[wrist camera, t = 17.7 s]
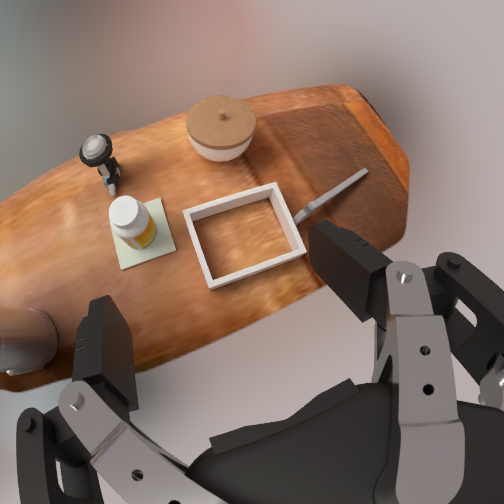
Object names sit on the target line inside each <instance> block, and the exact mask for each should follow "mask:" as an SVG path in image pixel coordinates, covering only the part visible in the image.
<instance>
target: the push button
mask: <svg viewBox="0 0 504 504" xmlns="http://www.w3.org/2000/svg"><path fill="white" fill-rule="evenodd" d="M106 143H107V144H108V146H107V145H106ZM112 150H113V148H112V141H111V139H110V138H109V136H107V135H105V134H98V135H93V136H91V137H89V138H88V139H87V140H86V141H85V143H84V144H83V145H82V147H81V149H80V153H79V156H80V159H81V161H82V162H83V163H84V164H86V165H87V166H89V167H96V166H97V167H98V172H99V174H100V175H101V176H102V178H103V182H104V184H105V185H106V186H107V188H108V189H109V193H111V196H113V195H115V189H116V187H117V186H118V185H117V183H118V180H117V173H118V175H119V176H120V171H119V169H118V162H117V161H116V159H115V157H112V158H109V157H110V156H111V154H112ZM86 158H87V159H88V160H86ZM110 190H111V191H110ZM113 192H114V193H113ZM112 193H113V194H112Z"/></svg>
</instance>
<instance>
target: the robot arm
mask: <svg viewBox="0 0 504 504" xmlns="http://www.w3.org/2000/svg"><path fill="white" fill-rule="evenodd" d="M308 240H309V258H310V263H311V265H312V268H313V269H314V271H315V272H316V273H317V274H318V275H319V276H320V277H321V279H322V280H323V281H324V282H325V283H326V284H327V285H328V286H329V287H330V288H331V289H332V290H333V291H334V292H335V293H336V295H337V296H338V297H339V298H340V299H341V300H342V301H343V302H344V303H345V304H346V305H347V306H348V307H349V309H350V310H352V312H353V313H354V314H355V315H356V316H357V317H358V318H359V319H360V321H361V322H364V321H367V320H368V319H370V318H372V317H373V318H374V319H375V352H374V371H373V376H372V382H371V383H365V384H359V385H354V383H353V382H352V381H351V380H350V378H349V379H347V380H345V381H343V382H341V383H340V384H338V385H336V386H334V387H332V388H330V389H329V390H327V391H325V392H323V393H321V394H319V395H317V396H316V397H315V398H314V399H312V400H311V401H310V402H309V403H308V404H306V405H305V406H304V407H303V408H301V409H300V410H299V411H297V412H296V413H295V414H294V415H292V416H291V417H289V418H288V419H286V420H282V421H277V422H270V423H264V424H258V425H250V426H244V427H242V428H239V429H236V430H233V431H230V432H227V433H224V434H221V435H217V436H214V437H211V438H209V440H210V442H211V445H212V447H211V448H209V449H207V450H206V451H205V452H203V453H202V454H201V455H200V456H198V457H197V458H196V459H195V460H194V461H193V463H192V464H191V465H190V466H188V465H186V464H185V463H183V462H182V461H180V460H179V459H177V458H176V457H174V456H173V455H171V454H170V453H169V452H167V451H166V450H165V449H163V448H162V447H161V446H160V445H158V444H157V443H156V442H155V441H153V440H152V439H151V438H150V437H148V436H147V435H146V434H145V433H144V432H143V431H142V430H140V429H139V428H138V427H137V426H136V425H135V424H134V423H133V422H131V421H130V416H129V412H130V411H134V410H138V409H139V405H138V398H137V390H136V382H135V372H134V361H133V347H132V335H131V332H130V329H129V326H128V324H127V322H126V321H125V319H124V318H123V316H122V315H121V313H120V311H119V310H118V308H117V306H116V305H115V303H114V301H113V300H112V298H111V297H110V296H109V295H106V296H103V297H100V298H97V299H94V300H92V301H90V304H89V311H88V316H86V317H84V318H83V320H82V321H81V323H80V325H79V327H78V331H77V338H76V340H77V341H76V346H75V349H76V350H75V354H74V364H73V375H72V383H70V384H69V385H67V386H66V387H65V388H64V390H63V391H62V393H61V395H60V397H59V403H58V404H59V406H57V407H55V408H54V409H52V410H50V411H48V412H47V413H45V414H42V413H41V412H40V411H39V410H37V409H36V408H28V409H26V410H24V411H23V412H22V414H21V415H20V417H19V419H18V422H17V432H16V453H17V454H16V456H17V474H18V486H19V494H20V501H21V504H104V501H103V497H102V493H101V489H100V485H99V480H98V475H97V472H98V473H99V474H100V475H101V476H102V477H103V478H104V479H105V481H106V482H107V483H108V484H109V485H110V486H111V487H112V488H113V489H114V490H115V491H116V492H117V493H118V494H119V495H120V496H121V497H122V498H123V499H124V500H125V501H126V502H127V503H128V504H504V291H503V290H502V289H501V288H500V287H499V286H498V285H496V284H495V283H494V282H493V281H492V280H490V279H489V278H488V277H487V276H486V275H485V274H483V273H482V272H481V271H480V270H479V269H477V268H476V267H475V266H474V265H472V264H471V263H470V262H469V261H467V260H466V259H465V258H464V257H462V256H461V255H459V254H456V253H452V252H444V253H441V254H440V255H439V256H438V258H437V262H436V266H432V267H428V268H422V269H421V268H420V267H418V266H417V265H415V264H414V263H411V262H408V261H396V262H393V261H392V260H390V259H389V258H388V257H386V256H385V255H384V254H383V253H381V252H380V251H379V250H377V249H376V248H375V247H373V246H372V245H371V244H370V245H369V243H368V242H367V241H365V240H364V239H362V238H361V237H360V236H358V235H357V234H356V233H354V232H353V231H350V230H347V229H344V228H338V227H337V226H335V225H334V224H333V223H331V222H330V221H328V220H324V221H321V222H318V223H315V224H312V225H310V226H309V227H308ZM458 299H460V300H461V301H462V302H463V303H464V304H465V305H466V306H467V307H468V308H469V309H470V310H471V311H472V312H473V313H474V314H475V315H476V318H477V325H476V327H474V326H473V325H472V324H471V323H470V322H469V321H468V320H467V319H466V318H465V317H464V316H463V315H462V314H461V313H460V312H459V311H458V310H457V309H456V308H455V306H456V303H457V301H458ZM57 345H58V341H57V333H56V329H55V326H54V324H53V322H52V321H51V319H50V318H49V317H48V316H47V315H46V314H45V313H44V312H42V311H39V310H34V309H25V308H18V307H11V306H3V305H0V372H4V371H6V372H7V373H8V374H9V375H11V376H12V375H17V374H22V373H26V372H31V371H35V370H39V369H43V368H44V365H45V364H46V363H48V362H50V361H51V360H52V359H53V357H54V356H55V354H56V351H57ZM451 353H452V354H453V355H454V356H455V357H456V358H457V360H458V361H459V362H460V363H461V364H462V365H463V367H464V368H465V369H466V370H467V372H468V373H469V374H470V375H471V376H472V378H473V379H474V380H475V381H476V382H477V384H478V385H479V386H480V394H479V396H478V401H479V403H480V404H481V405H479V404H473V403H468V402H463V401H458V400H456V389H455V380H454V373H453V365H452V359H451ZM485 405H486V406H485ZM55 460H56V461H58V462H60V468H61V475H62V482H63V488H64V492H63V491H62V490H61V488H60V486H59V484H58V478H57V470H56V461H55Z"/></svg>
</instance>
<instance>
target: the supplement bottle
mask: <svg viewBox="0 0 504 504" xmlns="http://www.w3.org/2000/svg"><path fill="white" fill-rule="evenodd" d="M109 217H110V220H111V226H112V229H113V231H114V232H115V233H116V235H118V236H119V237H120V238H121V239H122V240H123V241H124V242H125V243H126V244H127V245H128V246H129V247H131V248H133V249H135V250H143V249H146V248H148V247H149V246H151V245H152V243H153V242H154V241H155V239H156V236H157V227H156V224H155V222H154V221H153V219H152V217H151V215H150V213H149V212H148V210H147V208H146V207H145V205H144V204H143V203H141V202H140V201H138V200H135V199H134V198H133V197H131V196H121V197H119V198H117V199H116V200H114V201H113V203H112V204H111V206H110V209H109Z"/></svg>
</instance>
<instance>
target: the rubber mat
mask: <svg viewBox="0 0 504 504" xmlns="http://www.w3.org/2000/svg"><path fill="white" fill-rule="evenodd" d="M144 205H145V207H146V208H147V210H148V212H149V213H150V215H151V217H152V219H153V221H154V222H155V224H156V227H157V236H156V239H155V241H154V242H153V243H152V245H151V246H149V247H148V248H146V249H143V250H135V249H133V248H131V247H129V246H128V245H127V244H126V243H125V242H124V241H123V240H122V239H121V238H120V237H119V236H118V235H116V233H115V232H114V231H113V229H112V226H111V229H112V234H113V238H114V243H115V247H116V251H117V255H118V259H119V263H120V267H121V270H124V269H127V268H130V267H132V266H135V265H138V264H141V263H143V262H146V261H149V260H152V259H154V258H157V257H160V256H163V255H166V254H168V253H171V252H174V251H176V248H175V245H174V242H173V239H172V235H171V232H170V229H169V226H168V222H167V219H166V216H165V212H164V209H163V205H162V202H161V199H160V198H158V199H155V200H152V201H149V202H146V203H144ZM109 220H110V217H109ZM110 225H111V220H110Z"/></svg>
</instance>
